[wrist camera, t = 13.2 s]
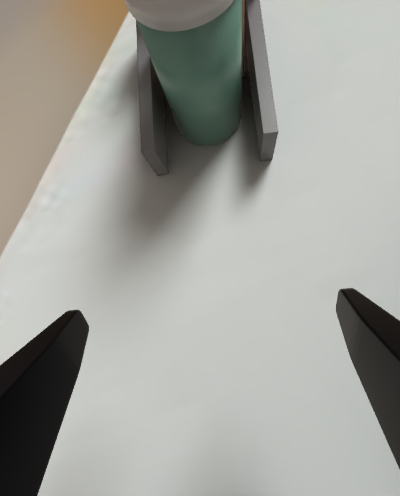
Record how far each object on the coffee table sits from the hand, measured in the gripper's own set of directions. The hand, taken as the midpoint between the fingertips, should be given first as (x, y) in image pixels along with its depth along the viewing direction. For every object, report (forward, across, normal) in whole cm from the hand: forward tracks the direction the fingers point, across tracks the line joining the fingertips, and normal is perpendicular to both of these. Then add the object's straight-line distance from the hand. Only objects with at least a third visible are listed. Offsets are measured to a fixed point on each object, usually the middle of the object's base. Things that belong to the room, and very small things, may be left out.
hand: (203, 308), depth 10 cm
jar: (+21, 0, -3) cm, 21 cm away
